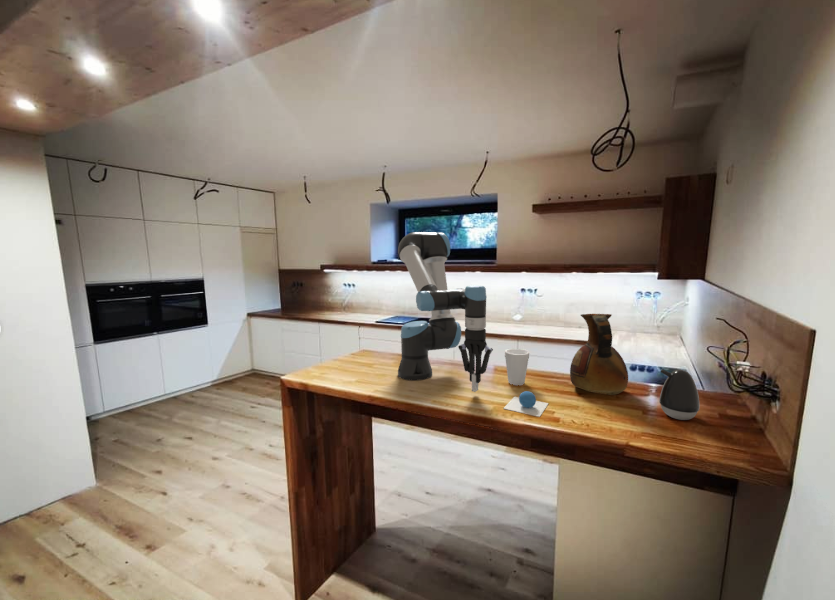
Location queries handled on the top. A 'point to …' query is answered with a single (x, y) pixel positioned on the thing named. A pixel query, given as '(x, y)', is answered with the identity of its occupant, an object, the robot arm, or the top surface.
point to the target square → (517, 407)
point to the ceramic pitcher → (599, 360)
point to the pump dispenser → (679, 395)
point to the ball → (527, 399)
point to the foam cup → (516, 365)
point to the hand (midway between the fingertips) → (475, 390)
